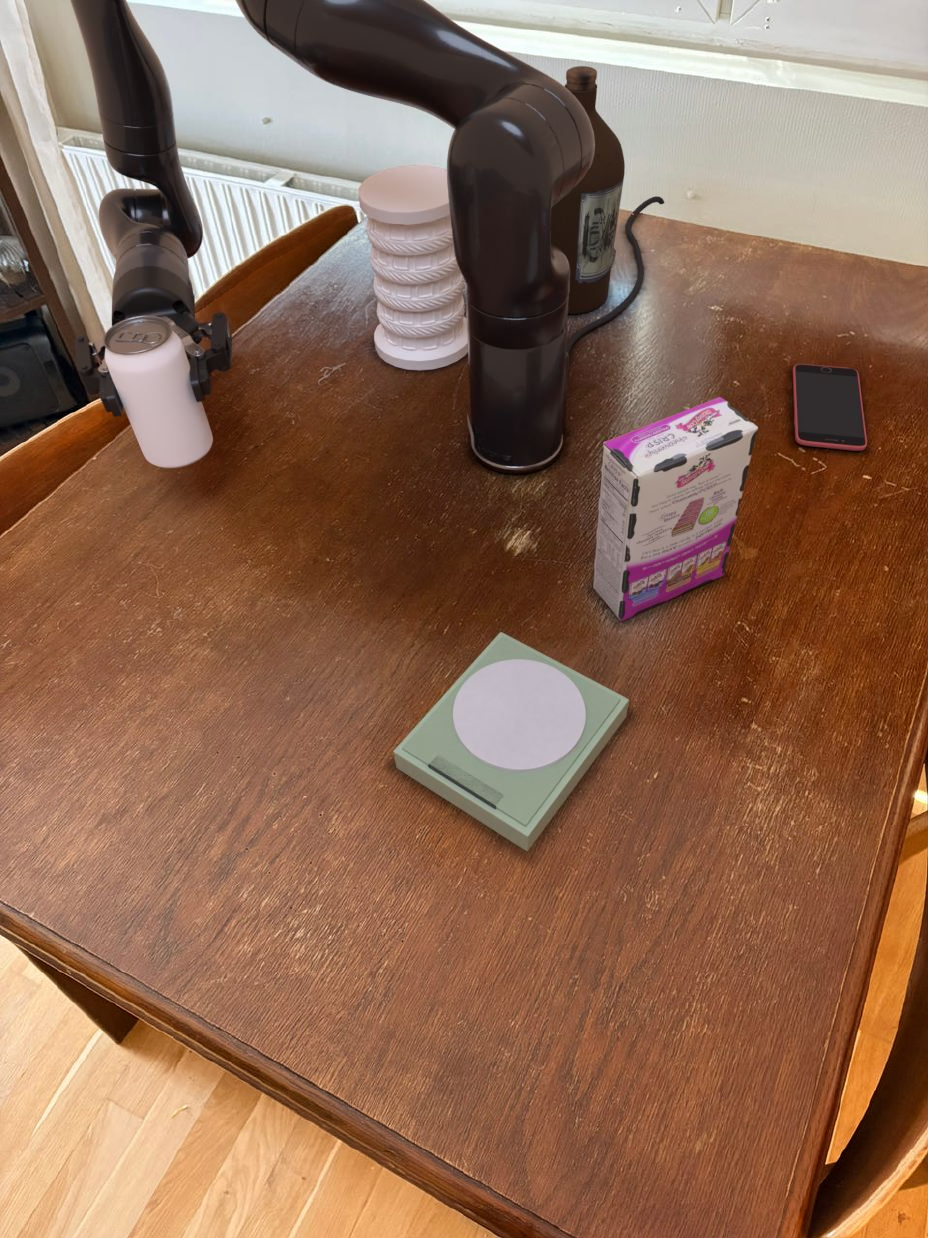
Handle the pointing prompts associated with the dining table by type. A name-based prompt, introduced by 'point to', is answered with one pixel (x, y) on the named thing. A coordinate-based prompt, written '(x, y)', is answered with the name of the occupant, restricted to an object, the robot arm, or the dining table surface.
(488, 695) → the scale
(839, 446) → the smartphone
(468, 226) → the robot arm
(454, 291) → the decorative container
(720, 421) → the candy bar box
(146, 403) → the can
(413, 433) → the dining table surface
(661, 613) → the dining table surface
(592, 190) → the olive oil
